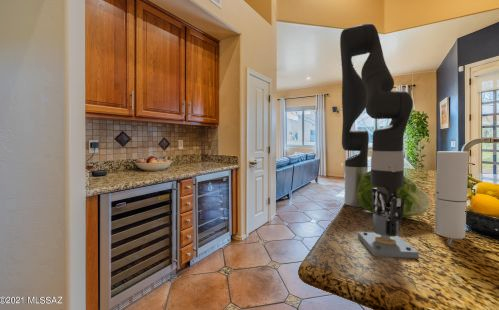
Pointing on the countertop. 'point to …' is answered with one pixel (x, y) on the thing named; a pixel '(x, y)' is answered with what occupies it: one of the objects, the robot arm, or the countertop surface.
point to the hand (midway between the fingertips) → (385, 230)
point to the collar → (382, 224)
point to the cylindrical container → (451, 194)
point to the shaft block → (387, 245)
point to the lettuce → (410, 192)
